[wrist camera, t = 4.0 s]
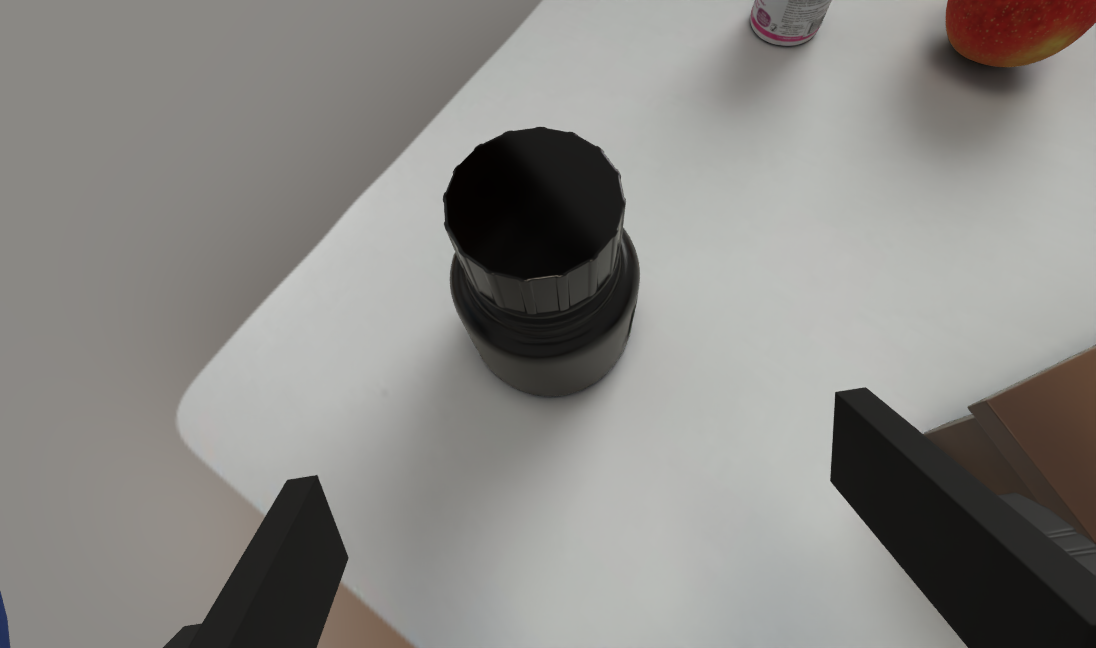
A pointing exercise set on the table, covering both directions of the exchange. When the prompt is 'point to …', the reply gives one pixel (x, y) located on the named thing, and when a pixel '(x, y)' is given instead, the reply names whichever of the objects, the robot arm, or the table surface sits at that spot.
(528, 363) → the ink bottle
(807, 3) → the pill bottle
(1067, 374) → the shelf
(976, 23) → the apple
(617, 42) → the table surface
